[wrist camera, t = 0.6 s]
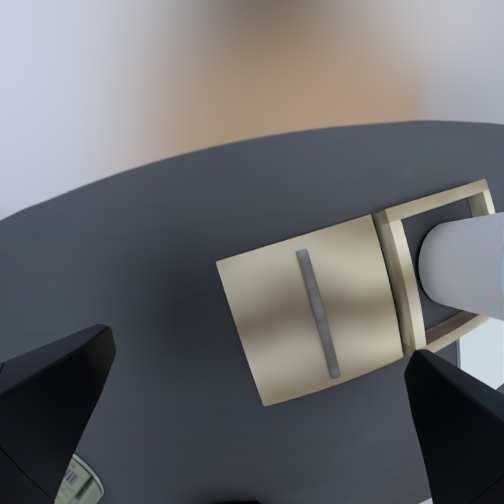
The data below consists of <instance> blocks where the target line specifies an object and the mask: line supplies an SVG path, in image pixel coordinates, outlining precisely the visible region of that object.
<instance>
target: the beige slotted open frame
mask: <svg viewBox="0 0 504 504" xmlns="http://www.w3.org/2000/svg"><path fill="white" fill-rule="evenodd" d="M466 197H467V198H468V202H469V205H470V209H471V212H472V216H473V218H474V217H480V216H485V215H491V214H495V210H494V206H493V203H492V199H491V195H490V192H489V189H488V185H487V182H486V179H484V180H480V181H477V182H474V183H470V184H467V185H464V186H460V187H457V188H454V189H450V190H447V191H444V192H441V193H437V194H434V195H431V196H427V197H424V198H421V199H417V200H414V201H411V202H408V203H404V204H401V205H398V206H394V207H391V208H388V209H385V210H382V211H379V212H376V213H374V214H372V215H373V218H374V222H375V225H376V228H377V232H378V235H379V238H380V242H381V246H382V249H383V253H384V257H385V261H386V265H387V269H388V273H389V277H390V281H391V285H392V290H393V294H394V299H395V304H396V309H397V314H398V320H399V325H400V331H401V337H402V343H403V350H404V353H406V354H407V355H409V356H410V357H411V356H412V353H413V352H414V351H415V350H417V349H427V350H429V351H431V352H433V353H434V352H436V351H438V350H440V349H442V348H443V347H445V346H447V345H449V344H450V343H452V342H454V341H455V340H457V339H459V338H460V337H462V336H464V335H465V334H467V333H468V332H470V331H472V330H473V329H475V328H476V327H478V326H479V325H481V324H482V323H484V322H485V321H487V320H488V319H490V317H487V316H483V315H479V314H476V313H472V312H468V311H464V310H463V311H461V312H460V313H458V314H456V315H454V316H452V317H451V318H449V319H447V320H445V321H443V322H441V323H440V324H438V325H436V326H434V327H432V328H430V329H428V330H426V331H424V324H423V317H422V311H421V305H420V299H419V294H418V289H417V284H416V279H415V274H414V270H413V265H412V261H411V257H410V253H409V249H408V245H407V241H406V237H405V234H404V230H403V227H402V223H401V220H400V219H403V218H406V217H409V216H412V215H415V214H418V213H421V212H424V211H427V210H430V209H433V208H436V207H439V206H442V205H445V204H448V203H451V202H454V201H457V200H460V199H463V198H466ZM216 264H217V268H218V271H219V274H220V277H221V281H222V284H223V287H224V290H225V293H226V297H227V300H228V303H229V306H230V309H231V312H232V315H233V318H234V321H235V324H236V327H237V331H238V334H239V337H240V340H241V343H242V345H243V348H244V351H245V354H246V357H247V360H248V363H249V366H250V369H251V372H252V375H253V377H254V380H255V383H256V386H257V389H258V392H259V394H260V397H261V400H262V403H263V405H264V406H268V405H272V404H276V403H280V402H283V401H287V400H290V399H294V398H297V397H301V396H304V395H307V394H310V393H314V392H317V391H320V390H323V389H326V388H329V387H331V386H334V385H337V384H340V383H343V382H345V381H348V380H351V379H353V378H356V377H358V376H361V375H363V374H366V373H368V372H371V371H373V370H376V369H378V368H380V367H383V366H385V365H387V364H389V363H392V362H394V361H396V360H398V359H400V358H403V353H402V347H401V340H400V334H399V328H398V323H397V317H396V312H395V307H394V302H393V298H392V293H391V288H390V284H389V280H388V275H387V271H386V267H385V263H384V259H383V256H382V252H381V248H380V245H379V241H378V238H377V234H376V231H375V227H374V224H373V221H372V217H371V214H370V215H367V216H363V217H360V218H357V219H354V220H350V221H347V222H344V223H341V224H337V225H334V226H331V227H327V228H324V229H321V230H318V231H314V232H311V233H308V234H305V235H301V236H298V237H295V238H292V239H288V240H285V241H282V242H278V243H275V244H272V245H269V246H265V247H262V248H259V249H256V250H252V251H249V252H246V253H243V254H239V255H236V256H233V257H230V258H226V259H223V260H220V261H217V262H216Z"/></svg>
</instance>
